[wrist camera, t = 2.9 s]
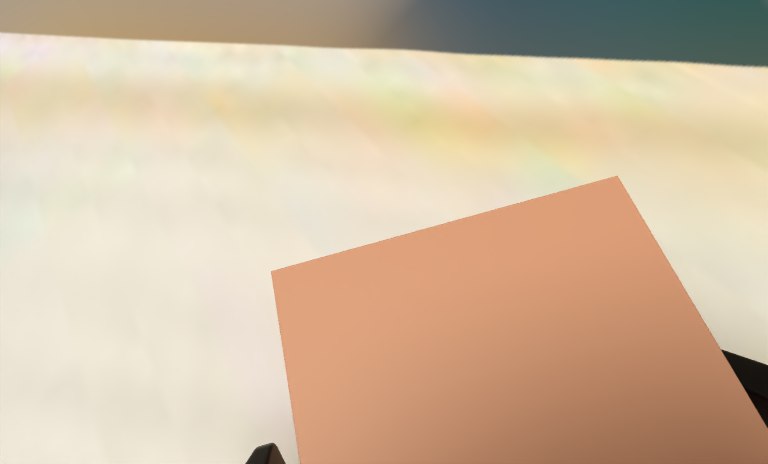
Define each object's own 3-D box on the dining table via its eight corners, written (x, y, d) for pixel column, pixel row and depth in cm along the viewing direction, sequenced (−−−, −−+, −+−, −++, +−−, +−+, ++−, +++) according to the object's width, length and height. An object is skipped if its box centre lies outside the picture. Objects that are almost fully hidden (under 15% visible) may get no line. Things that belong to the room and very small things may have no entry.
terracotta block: (525, 450, 15) (890, 636, 3) (403, 485, 15) (352, 808, 3) (480, 326, 17) (617, 175, 5) (372, 357, 17) (271, 271, 5)
